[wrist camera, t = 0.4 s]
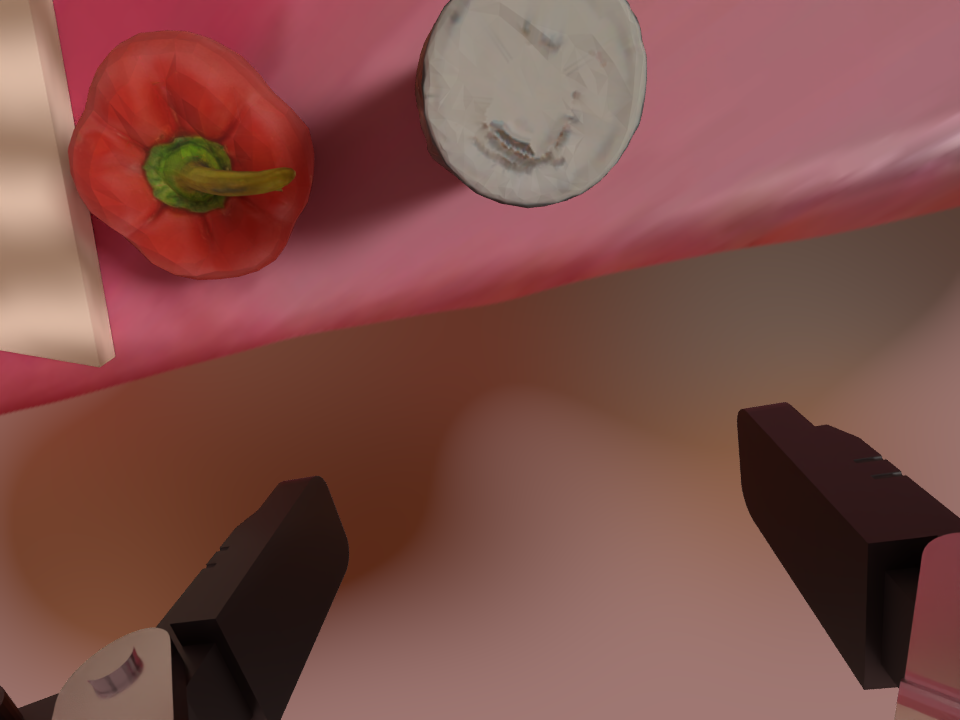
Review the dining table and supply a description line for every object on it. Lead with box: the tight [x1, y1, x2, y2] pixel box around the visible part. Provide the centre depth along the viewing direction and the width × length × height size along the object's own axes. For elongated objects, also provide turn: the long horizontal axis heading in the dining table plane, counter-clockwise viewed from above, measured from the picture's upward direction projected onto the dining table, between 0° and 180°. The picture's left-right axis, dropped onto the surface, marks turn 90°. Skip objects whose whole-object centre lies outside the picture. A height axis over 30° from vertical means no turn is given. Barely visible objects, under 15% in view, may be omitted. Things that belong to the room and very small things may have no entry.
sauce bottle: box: [415, 0, 647, 208], centre depth 18 cm, size 7×6×20 cm
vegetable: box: [68, 30, 314, 280], centre depth 24 cm, size 11×10×10 cm
